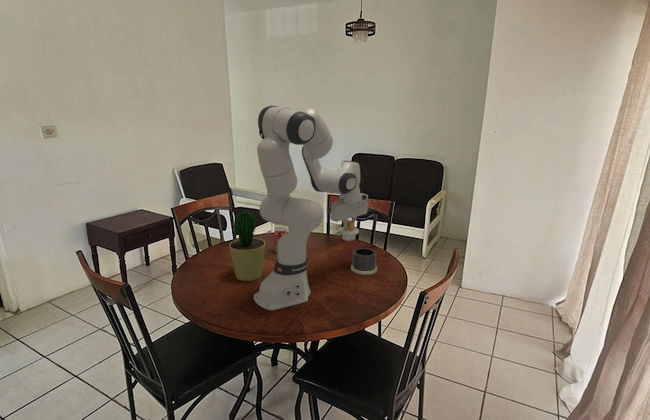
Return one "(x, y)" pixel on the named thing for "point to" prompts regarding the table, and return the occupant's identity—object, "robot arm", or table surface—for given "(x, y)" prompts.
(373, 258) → the cylinder
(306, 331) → the table surface
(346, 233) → the cap
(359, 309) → the table surface
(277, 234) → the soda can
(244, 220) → the potted cactus
